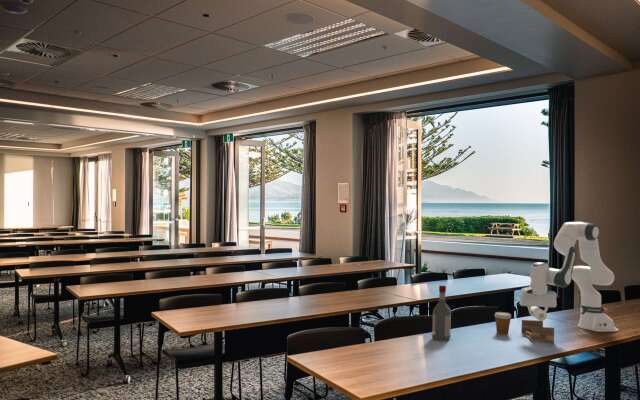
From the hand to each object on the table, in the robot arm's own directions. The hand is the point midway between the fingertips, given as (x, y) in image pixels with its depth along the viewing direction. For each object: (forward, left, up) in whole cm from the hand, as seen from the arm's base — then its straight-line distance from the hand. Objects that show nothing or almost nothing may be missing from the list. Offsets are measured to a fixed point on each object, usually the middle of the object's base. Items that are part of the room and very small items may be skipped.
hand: (537, 314), depth 286 cm
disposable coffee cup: (+18, -6, -14) cm, 24 cm away
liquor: (+57, +12, -14) cm, 60 cm away
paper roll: (0, 0, +1) cm, 1 cm away
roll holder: (0, 0, -14) cm, 14 cm away
